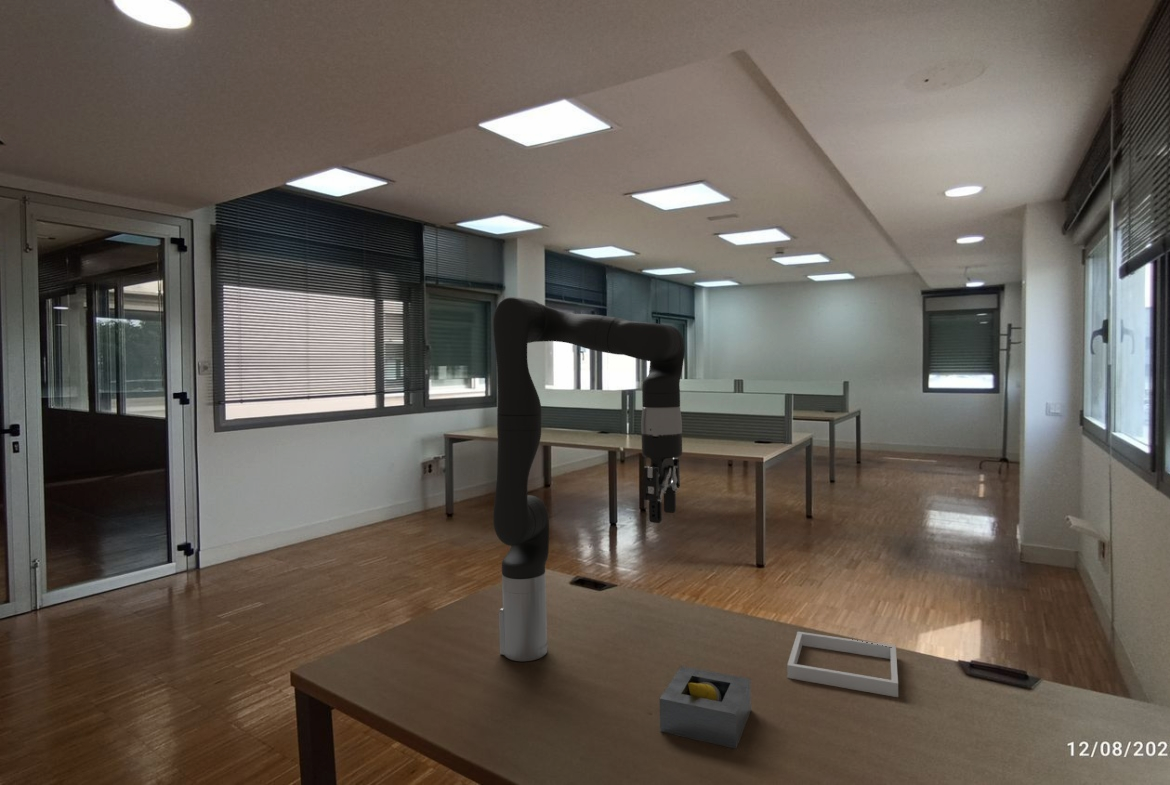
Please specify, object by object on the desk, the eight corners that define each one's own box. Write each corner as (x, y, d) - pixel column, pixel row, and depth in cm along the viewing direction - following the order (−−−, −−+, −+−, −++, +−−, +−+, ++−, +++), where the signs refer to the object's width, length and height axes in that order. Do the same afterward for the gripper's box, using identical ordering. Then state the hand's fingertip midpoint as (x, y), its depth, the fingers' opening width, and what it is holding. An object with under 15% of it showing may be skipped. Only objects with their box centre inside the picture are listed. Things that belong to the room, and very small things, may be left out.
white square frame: (787, 677, 120) (787, 664, 120) (797, 642, 135) (797, 631, 135) (898, 697, 112) (898, 683, 111) (895, 657, 127) (895, 645, 127)
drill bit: (731, 718, 105) (705, 694, 100) (702, 726, 107) (676, 704, 101) (724, 686, 109) (699, 662, 104) (696, 695, 111) (671, 672, 106)
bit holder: (660, 731, 103) (659, 698, 102) (681, 695, 114) (681, 666, 114) (736, 748, 97) (735, 714, 97) (750, 709, 109) (750, 678, 108)
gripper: (654, 427, 125) (656, 508, 125) (629, 434, 112) (630, 524, 112) (691, 428, 122) (692, 511, 122) (669, 435, 109) (670, 527, 109)
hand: (663, 517), depth 117 cm, fingers open, 8 cm apart
